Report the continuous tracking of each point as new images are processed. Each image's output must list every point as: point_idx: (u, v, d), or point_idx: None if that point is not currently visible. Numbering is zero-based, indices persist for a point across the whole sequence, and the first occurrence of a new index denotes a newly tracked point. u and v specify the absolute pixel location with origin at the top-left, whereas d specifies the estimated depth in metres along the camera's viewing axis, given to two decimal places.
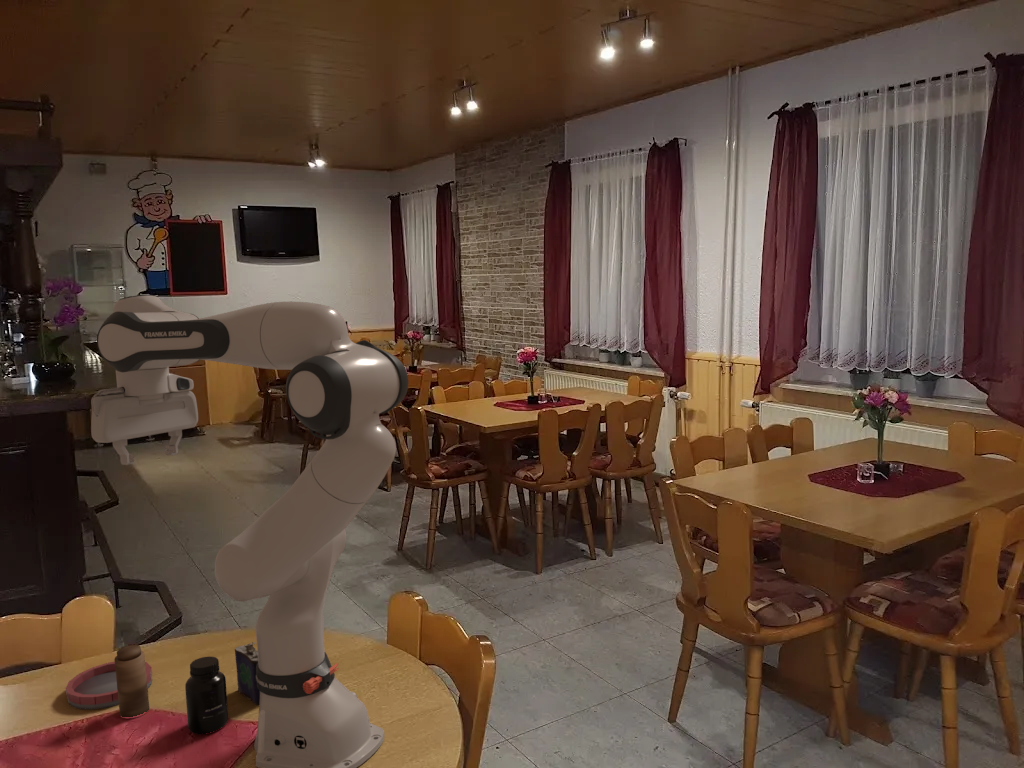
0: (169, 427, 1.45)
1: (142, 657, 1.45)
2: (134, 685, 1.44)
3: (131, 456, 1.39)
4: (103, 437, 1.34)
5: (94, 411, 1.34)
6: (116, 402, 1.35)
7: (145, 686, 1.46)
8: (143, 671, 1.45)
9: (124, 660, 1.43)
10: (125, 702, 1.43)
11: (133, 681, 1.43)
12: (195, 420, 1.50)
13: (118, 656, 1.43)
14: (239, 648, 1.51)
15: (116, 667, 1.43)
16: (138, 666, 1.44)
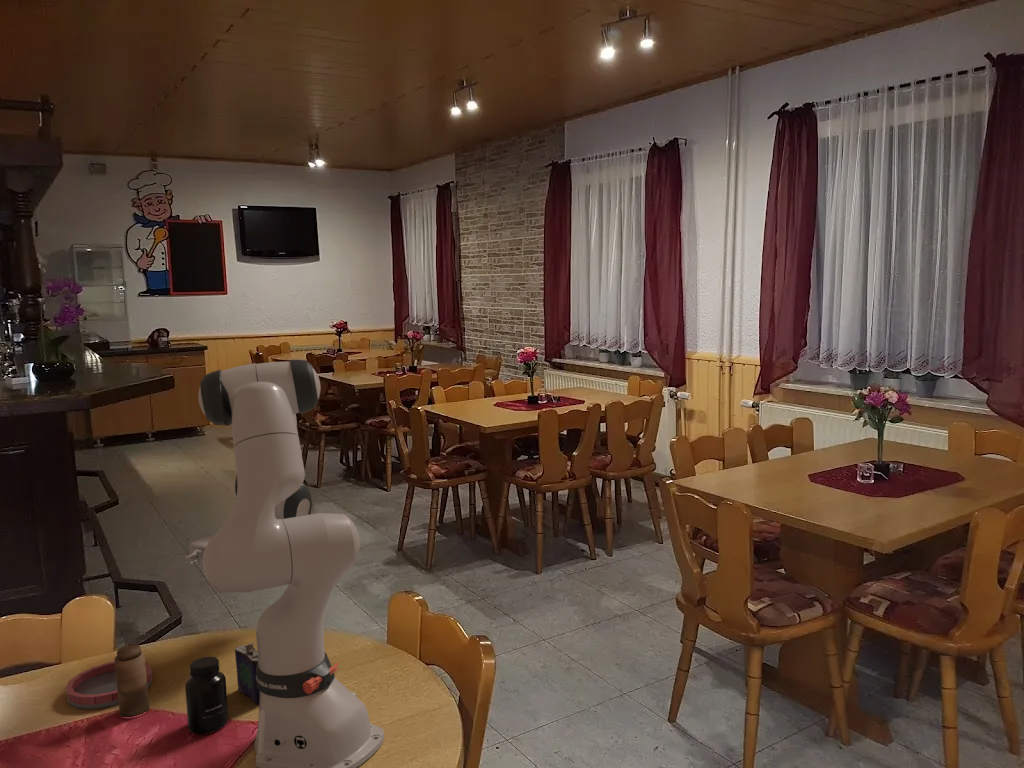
0: None
1: (142, 657, 1.45)
2: (134, 685, 1.44)
3: (193, 555, 1.64)
4: (191, 543, 1.70)
5: None
6: None
7: (145, 686, 1.46)
8: (143, 671, 1.45)
9: (124, 660, 1.43)
10: (125, 702, 1.43)
11: (133, 681, 1.43)
12: None
13: (118, 656, 1.43)
14: (239, 648, 1.51)
15: (116, 667, 1.43)
16: (138, 666, 1.44)
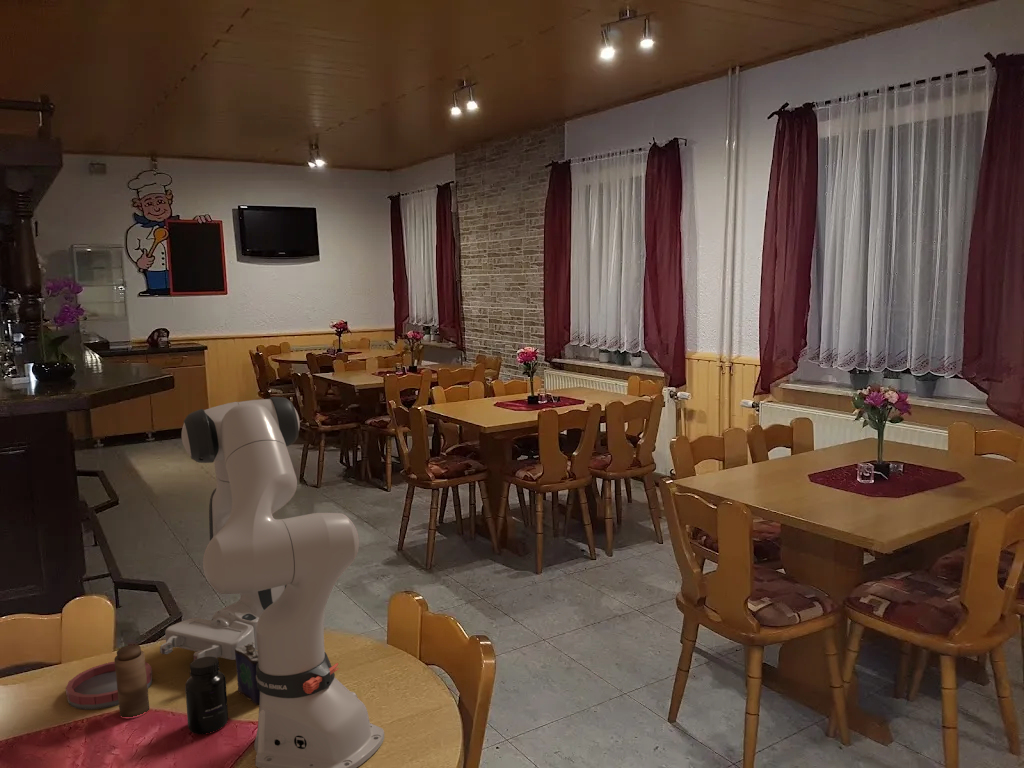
0: (211, 637, 1.58)
1: (142, 657, 1.45)
2: (134, 685, 1.44)
3: (168, 643, 1.58)
4: (167, 628, 1.64)
5: None
6: (198, 618, 1.68)
7: (145, 686, 1.46)
8: (143, 671, 1.45)
9: (124, 660, 1.43)
10: (125, 702, 1.43)
11: (133, 681, 1.43)
12: (235, 640, 1.56)
13: (118, 656, 1.43)
14: (239, 648, 1.52)
15: (116, 667, 1.43)
16: (138, 666, 1.44)
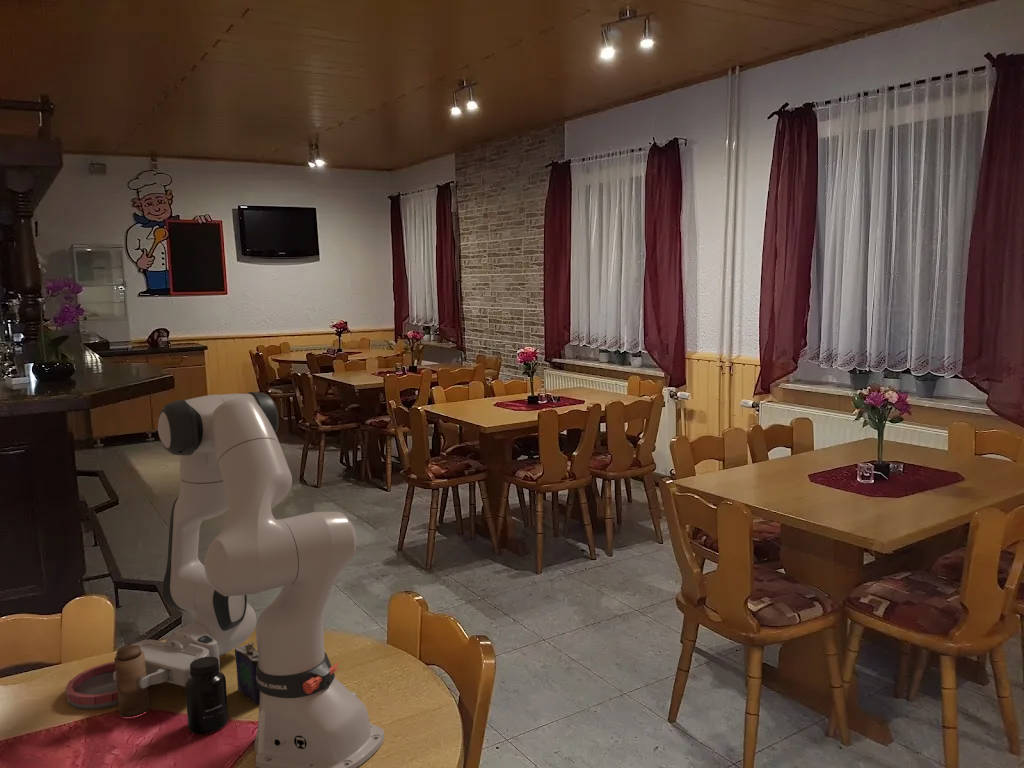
0: (163, 661, 1.48)
1: (142, 657, 1.45)
2: (134, 685, 1.44)
3: None
4: None
5: None
6: (151, 640, 1.58)
7: None
8: (143, 671, 1.45)
9: (124, 660, 1.43)
10: (125, 702, 1.43)
11: (133, 681, 1.43)
12: (187, 665, 1.46)
13: (118, 656, 1.43)
14: (239, 648, 1.51)
15: (116, 667, 1.43)
16: (138, 666, 1.44)
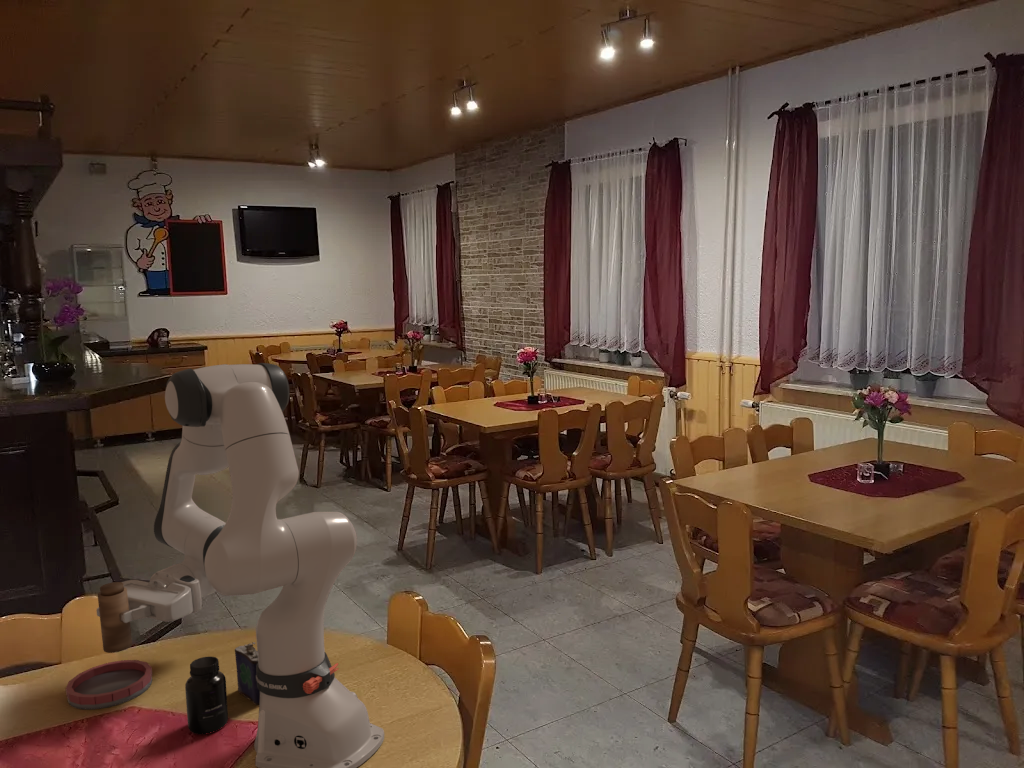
0: (146, 598, 1.51)
1: (125, 593, 1.48)
2: (117, 620, 1.47)
3: None
4: None
5: None
6: (135, 580, 1.61)
7: None
8: (126, 606, 1.48)
9: (107, 595, 1.46)
10: (108, 636, 1.47)
11: (116, 616, 1.47)
12: (169, 601, 1.49)
13: (101, 591, 1.46)
14: (239, 648, 1.51)
15: (99, 602, 1.46)
16: (121, 601, 1.47)
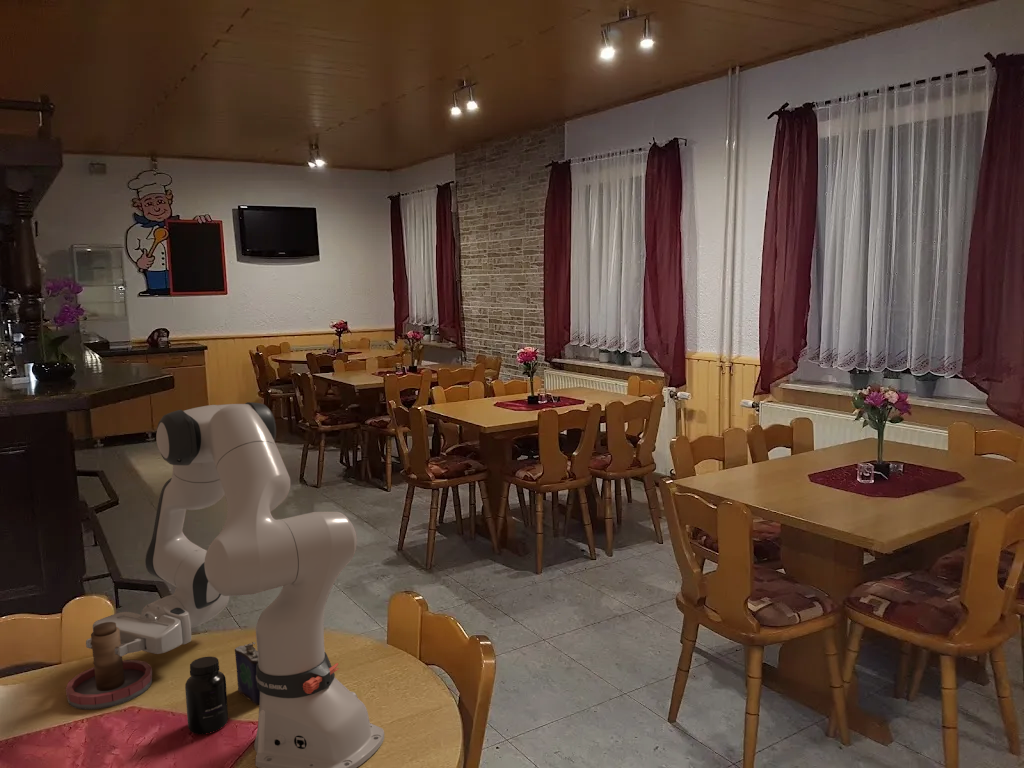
0: (137, 631, 1.57)
1: (117, 633, 1.54)
2: (110, 659, 1.52)
3: None
4: (95, 622, 1.63)
5: None
6: (127, 612, 1.66)
7: (120, 660, 1.54)
8: None
9: (100, 635, 1.52)
10: (101, 675, 1.52)
11: (109, 656, 1.52)
12: (159, 634, 1.54)
13: (94, 632, 1.52)
14: (239, 648, 1.52)
15: (92, 642, 1.52)
16: (113, 641, 1.53)
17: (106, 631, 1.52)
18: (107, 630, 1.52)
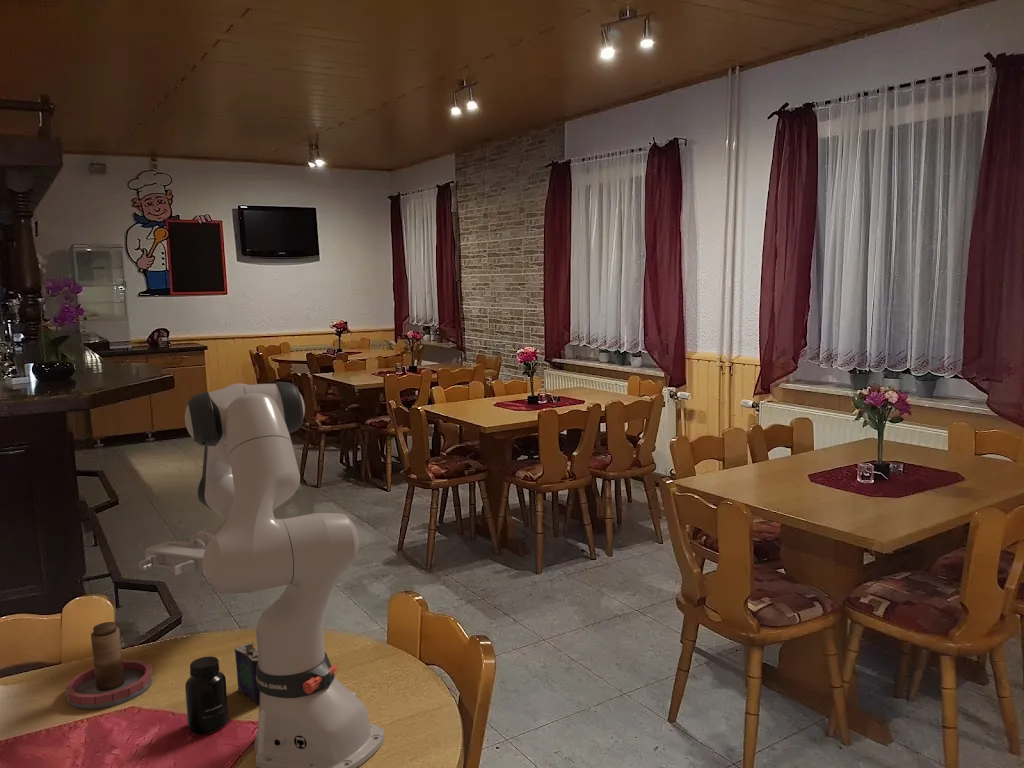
0: (188, 554, 1.68)
1: (117, 633, 1.54)
2: (110, 659, 1.52)
3: (147, 560, 1.67)
4: None
5: None
6: (176, 541, 1.77)
7: (120, 660, 1.54)
8: (118, 646, 1.54)
9: (100, 635, 1.52)
10: (101, 675, 1.52)
11: (109, 655, 1.52)
12: None
13: (94, 632, 1.52)
14: (239, 648, 1.52)
15: (92, 642, 1.52)
16: (113, 641, 1.53)
17: (106, 631, 1.52)
18: (107, 630, 1.52)
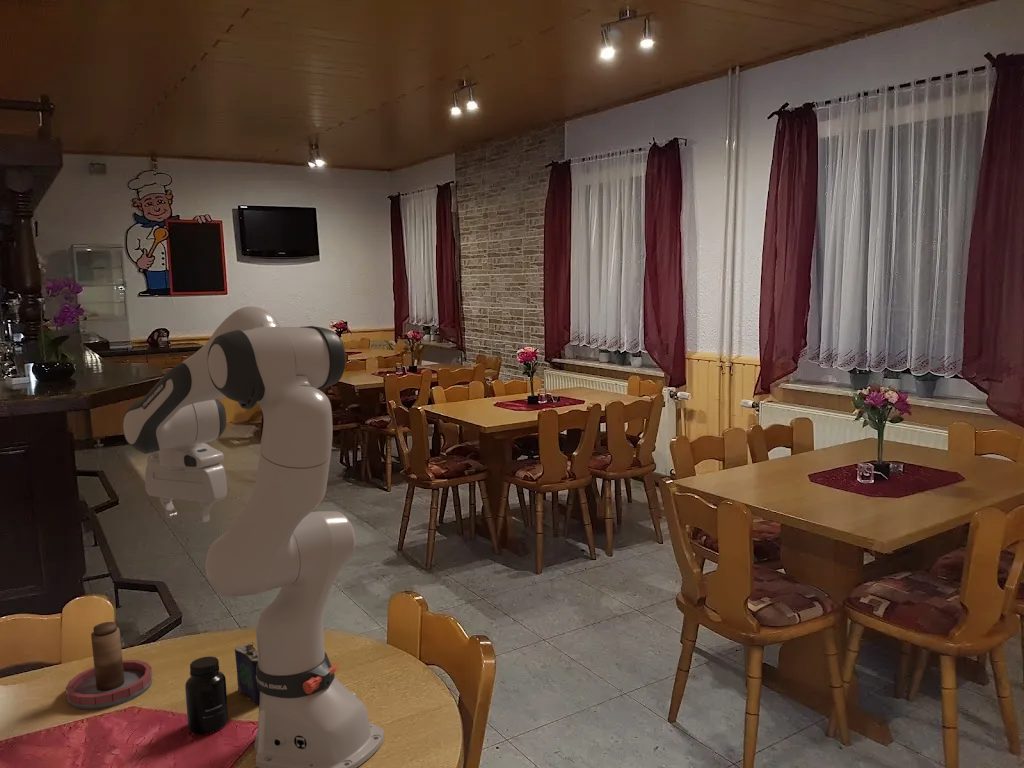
0: (189, 497, 1.59)
1: (117, 633, 1.54)
2: (110, 659, 1.52)
3: (168, 512, 1.64)
4: (146, 490, 1.65)
5: None
6: (152, 465, 1.63)
7: (120, 660, 1.54)
8: (119, 646, 1.54)
9: (100, 635, 1.52)
10: (101, 675, 1.52)
11: (109, 655, 1.52)
12: (210, 497, 1.56)
13: (94, 631, 1.52)
14: (239, 648, 1.51)
15: (92, 642, 1.52)
16: (113, 641, 1.53)
17: (106, 631, 1.52)
18: (107, 630, 1.52)
